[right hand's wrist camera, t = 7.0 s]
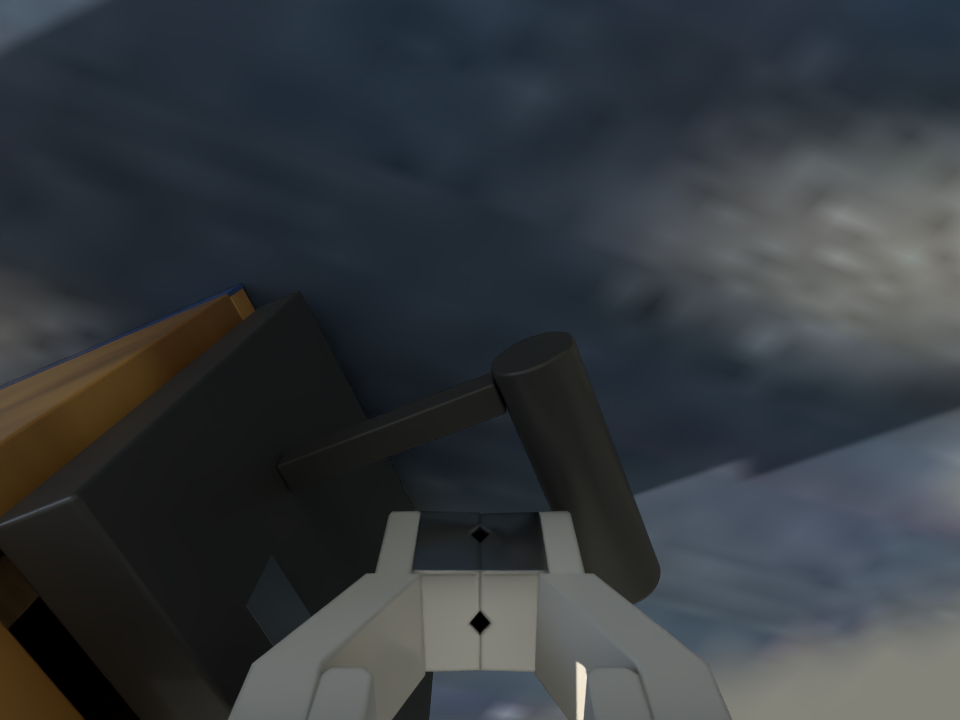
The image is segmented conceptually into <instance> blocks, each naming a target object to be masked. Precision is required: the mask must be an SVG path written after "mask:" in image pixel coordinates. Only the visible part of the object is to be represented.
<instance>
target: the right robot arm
mask: <svg viewBox="0 0 960 720" xmlns="http://www.w3.org/2000/svg"><path fill="white" fill-rule="evenodd" d="M463 670H496V671H531V672H535V675H536V676H537V678H538V679H539V680H540V682H541V683H542V685H543V686H544V687H545V689H546V690H547V691H548V693H549V694H550V695H551V697H552V698H553V699H554V701H555V702H556V703H557V705H558V706H559V708H560V709H561V710H562V712H563V713H564V714H565V716H566V717H567V718H568V720H732V718H731V716H730V714H729V711H728V709H727V706H726V704H725V702H724V699H723V697H722V695H721V692H720V690H719V688H718V685H717V683H716V681H715V678H714V676H713V674H712V671H711V669H710V667H709V665H708V664H707V663H706V662H705V661H703V660H702V659H701V658H700V657H698V656H697V655H696V654H695V653H693V652H692V651H691V650H690V649H688V648H687V647H686V646H685V645H683V644H682V643H681V642H679V641H678V640H677V639H676V638H674V637H673V636H672V635H671V634H669V633H668V632H667V631H666V630H664V629H663V628H662V627H661V626H659V625H658V624H657V623H656V622H654V621H653V620H652V619H651V618H649V617H648V616H647V615H645V614H644V613H643V612H642V611H640V610H639V609H638V608H637V607H635V606H634V605H633V604H632V603H630V602H629V601H628V600H627V599H625V598H624V597H623V596H622V595H620V594H619V593H618V592H617V591H615V590H614V589H613V588H611V587H610V586H609V585H608V584H606V583H605V582H604V581H603V580H601V579H600V578H599V577H598V576H596V575H595V574H593V573H585V571H584V567H583V563H582V559H581V554H580V550H579V546H578V542H577V538H576V534H575V530H574V526H573V521H572V517H571V514H570V513H569V512H568V511H547V512H526V513H478V512H430V511H422V513H421V512H420V511H392V512H391V513H390V515H389V517H388V521H387V525H386V529H385V533H384V538H383V542H382V546H381V550H380V554H379V558H378V563H377V567H376V571H375V573H367V574H365V575H364V576H362V577H361V578H360V579H359V580H357V581H356V582H355V583H354V584H352V585H351V586H350V587H348V588H347V589H346V590H345V591H343V592H342V593H341V594H340V595H338V596H337V597H336V598H335V599H333V600H332V601H331V602H329V603H328V604H327V605H326V606H324V607H323V608H322V609H321V610H319V611H318V612H317V613H316V614H314V615H313V616H312V617H311V618H309V619H308V620H307V621H305V622H304V623H303V624H302V625H300V626H299V627H298V628H297V629H295V630H294V631H293V632H292V633H290V634H289V635H288V636H286V637H285V638H284V639H283V640H281V641H280V642H279V643H278V644H276V645H275V646H274V647H273V648H271V649H270V650H269V651H267V652H266V653H265V654H264V655H262V656H261V657H260V658H259V659H257V660H256V661H255V662H254V663H252V665H251V667H250V670H249V672H248V674H247V677H246V679H245V681H244V684H243V686H242V688H241V690H240V693H239V695H238V697H237V700H236V702H235V704H234V707H233V709H232V711H231V714H230V716H229V718H228V720H392V719H393V717H394V716H395V715H396V713H397V712H398V711H399V709H400V708H401V707H402V705H403V704H404V703H405V701H406V700H407V699H408V697H409V696H410V695H411V693H412V692H413V691H414V689H415V688H416V687H417V685H418V684H419V682H420V681H421V680H422V678H423V677H424V676H425V672H429V671H463Z"/></svg>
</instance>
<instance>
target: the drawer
mask: <svg viewBox="0 0 960 720" xmlns="http://www.w3.org/2000/svg"><path fill="white" fill-rule="evenodd" d="M506 407H507V409H508V412H509V414H510V416H511V419H512V421H513V423H514V426H515V428H516V430H517V432H518V435H519V437H520V439H521V442H522V444H523V446H524V449H525V451H526V453H527V456H528V458H529V460H530V462H531V465H532V467H533V469H534V472H535V474H536V476H537V479H538V481H539V483H540V486H541V488H542V490H543V492H544V495H545V497H546V499H547V502H548V504H549V506H550V509H551V511H568V512H569V513H570V514H571V517H572V521H573V526H574V530H575V534H576V538H577V542H578V546H579V550H580V554H581V559H582V563H583V567H584V571H585V573H593V574H595V575H596V576H598V577H599V578H600V579H601V580H603V581H604V582H605V583H606V584H608V585H609V586H610V587H611V588H613V589H614V590H615V591H617V592H618V593H619V594H620V595H622V596H623V597H624V598H625V599H627V600H628V601H629V602H630V603H632V604H635V603H637V602H639V601H641V600H643V599H645V598H646V597H647V596H648V595H650V594H651V593H652V592H653V590H654V589H655V588H656V586H657V584H658V582H659V578H660V566H659V563H658V560H657V558H656V555H655V552H654V550H653V547H652V544H651V542H650V539H649V536H648V534H647V531H646V528H645V526H644V523H643V521H642V518H641V515H640V513H639V510H638V507H637V505H636V502H635V499H634V497H633V494H632V491H631V489H630V486H629V483H628V481H627V478H626V475H625V473H624V470H623V467H622V465H621V462H620V459H619V457H618V454H617V451H616V449H615V446H614V443H613V441H612V438H611V435H610V433H609V430H608V428H607V425H606V422H605V420H604V417H603V414H602V412H601V409H600V406H599V404H598V401H597V398H596V396H595V393H594V390H593V388H592V385H591V382H590V380H589V377H588V374H587V372H586V369H585V366H584V364H583V361H582V358H581V356H580V353H579V350H578V348H577V345H576V342H575V340H574V338H573V337H572V336H571V335H570V334H569V333H566V332H550V333H544V334H540V335H536V336H533V337H530V338H527V339H525V340H523V341H520V342H518V343H516V344H514V345H513V346H511V347H509V348H508V349H506V350H505V351H503V352H502V353H501V354H500V355H498V356H497V357H496V358H495V360H494V361H493V362H492V365H491V373H489V374H486V375H484V376H481V377H478V378H476V379H473V380H470V381H468V382H465V383H463V384H460V385H457V386H455V387H452V388H449V389H447V390H444V391H442V392H439V393H436V394H434V395H431V396H429V397H426V398H423V399H421V400H418V401H415V402H413V403H410V404H408V405H405V406H402V407H400V408H397V409H394V410H392V411H389V412H387V413H384V414H381V415H379V416H376V417H374V418H371V419H367V417H366V416H365V414H364V412H363V410H362V408H361V406H360V404H359V402H358V400H357V398H356V396H355V395H354V393H353V391H352V389H351V387H350V385H349V383H348V381H347V379H346V377H345V375H344V373H343V372H342V370H341V368H340V366H339V364H338V362H337V360H336V358H335V356H334V354H333V352H332V351H331V349H330V347H329V345H328V343H327V341H326V339H325V337H324V335H323V333H322V331H321V330H320V328H319V326H318V324H317V322H316V320H315V318H314V316H313V314H312V312H311V310H310V309H309V307H308V305H307V303H306V301H305V299H304V297H303V295H302V293H301V292H300V291H297V292H294V293H292V294H289V295H287V296H285V297H282V298H280V299H277V300H275V301H273V302H270V303H268V304H265V305H263V306H261V307H259V308H258V309H256V310H255V311H254V312H253V313H252V314H250V315H249V316H248V317H247V318H245V319H244V320H243V321H242V322H240V323H239V324H238V325H237V326H236V327H234V328H233V329H232V330H231V331H229V332H228V333H227V334H226V335H224V336H223V337H222V338H221V339H219V340H218V341H217V342H216V343H215V344H213V345H212V346H211V347H210V348H208V349H207V350H206V351H205V352H203V353H202V354H201V355H200V356H199V357H197V358H196V359H195V360H194V361H192V362H191V363H190V364H189V365H187V366H186V367H185V368H184V369H183V370H181V371H180V372H179V373H178V374H176V375H175V376H174V377H173V378H171V379H170V380H169V381H168V382H167V383H165V384H164V385H163V386H162V387H160V388H159V389H158V390H157V391H155V392H154V393H153V394H152V395H151V396H149V397H148V398H147V399H146V400H144V401H143V402H142V403H141V404H139V405H138V406H137V407H136V408H135V409H133V410H132V411H131V412H130V413H128V414H127V415H126V416H125V417H123V418H122V419H121V420H120V421H119V422H117V423H116V424H115V425H114V426H112V427H111V428H110V429H109V430H107V431H106V432H105V433H104V434H103V435H101V436H100V437H99V438H98V439H96V440H95V441H94V442H93V443H91V444H90V445H89V446H88V447H87V448H85V449H84V450H83V451H82V452H80V453H79V454H78V455H77V456H75V457H74V458H73V459H72V460H70V461H69V462H68V463H67V464H66V465H64V466H63V467H62V468H61V469H59V470H58V471H57V472H56V473H54V474H53V475H52V476H51V477H50V478H48V479H47V480H46V481H45V482H43V483H42V484H41V485H40V486H38V487H37V488H36V489H35V490H34V491H32V492H31V493H30V494H29V495H27V496H26V497H25V498H24V499H22V500H21V501H20V502H19V503H18V504H16V505H15V506H14V507H13V508H11V509H10V510H9V511H8V512H6V513H5V514H4V515H3V516H2V517H0V621H1V622H2V623H3V624H4V626H5V627H6V628H7V629H8V630H9V631H10V632H11V634H12V635H13V636H14V637H15V638H16V639H17V641H18V642H19V643H20V644H21V645H22V646H23V648H24V649H25V650H26V651H27V652H28V653H29V655H30V656H31V657H32V658H33V659H34V660H35V662H36V663H37V664H38V665H39V666H40V667H41V669H42V670H43V671H44V672H45V673H46V674H47V676H48V677H49V678H50V679H51V680H52V681H53V683H54V684H55V685H56V686H57V687H58V688H59V690H60V691H61V692H62V693H63V694H64V695H65V696H66V698H67V699H68V700H69V701H70V702H71V703H72V705H73V706H74V707H75V708H76V709H77V710H78V712H79V713H80V714H81V715H82V716H83V717H84V719H85V720H228V718H229V716H230V714H231V711H232V709H233V707H234V704H235V702H236V700H237V697H238V695H239V693H240V690H241V688H242V686H243V684H244V681H245V679H246V677H247V674H248V672H249V670H250V667H251V665H252V663H254V662H255V661H256V660H257V659H259V658H260V657H261V656H262V655H264V654H265V653H266V652H267V651H269V650H270V649H271V648H273V647H274V646H275V645H276V644H278V643H279V642H280V641H281V640H283V639H284V638H285V637H286V636H288V635H289V634H290V633H292V632H293V631H294V630H295V629H297V628H298V627H299V626H300V625H302V624H303V623H304V622H305V621H307V620H308V619H309V618H311V617H312V616H313V615H314V614H316V613H317V612H318V611H319V610H321V609H322V608H323V607H324V606H326V605H327V604H328V603H329V602H331V601H332V600H333V599H335V598H336V597H337V596H338V595H340V594H341V593H342V592H343V591H345V590H346V589H347V588H348V587H350V586H351V585H352V584H354V583H355V582H356V581H357V580H359V579H360V578H361V577H362V576H364V575H365V574H367V573H375V571H376V567H377V563H378V558H379V554H380V550H381V546H382V542H383V538H384V533H385V529H386V525H387V521H388V517H389V515H390V513H391V512H392V511H415V509H414V507H413V505H412V503H411V501H410V500H409V498H408V496H407V494H406V492H405V490H404V488H403V486H402V484H401V482H400V480H399V479H398V477H397V475H396V473H395V471H394V469H393V467H392V465H391V463H390V461H389V459H388V458H387V457H389V456H392V455H394V454H397V453H400V452H403V451H405V450H408V449H411V448H413V447H416V446H419V445H421V444H424V443H427V442H429V441H432V440H435V439H438V438H440V437H443V436H446V435H448V434H451V433H454V432H456V431H459V430H462V429H464V428H467V427H470V426H473V425H475V424H478V423H481V422H483V421H486V420H489V419H491V418H494V417H497V416H499V415H502V414H504V413H506ZM432 679H433V671H429V672H425V676H424V677H423V678H422V680H421V681H420V682H419V684H418V685H417V687H416V688H415V689H414V691H413V692H412V693H411V695H410V696H409V697H408V699H407V700H406V701H405V703H404V704H403V705H402V707H401V708H400V709H399V711H398V712H397V713H396V715H395V716H394V717H393V719H392V720H429V715H430V703H431V691H432Z"/></svg>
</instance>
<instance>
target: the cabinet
mask: <svg viewBox="0 0 960 720" xmlns="http://www.w3.org/2000/svg"><path fill="white" fill-rule="evenodd" d="M243 288H244V287H243V285H242V284H239V285H237V286H234V287H232V288H230V289H227V290H225V291H223V292H220V293H218V294H216V295H213V296H211V297H209V298H206V299H204V300H201V301H199V302H197V303H194V304H192V305H190V306H187V307H185V308H183V309H180V310H178V311H176V312H173V313H171V314H169V315H166V316H164V317H162V318H159V319H157V320H154V321H152V322H150V323H147V324H145V325H143V326H140V327H138V328H136V329H133V330H131V331H129V332H126V333H124V334H122V335H119V336H117V337H115V338H112V339H110V340H107V341H105V342H103V343H100V344H98V345H96V346H93V347H91V348H89V349H86V350H84V351H82V352H79V353H77V354H75V355H72V356H70V357H68V358H65V359H63V360H60V361H58V362H56V363H53V364H51V365H49V366H46V367H44V368H42V369H39V370H37V371H35V372H32V373H30V374H28V375H25V376H23V377H21V378H18V379H16V380H13V381H11V382H9V383H6V384H4V385H2V386H0V517H2V516H3V515H4V514H5V513H6V512H8V511H9V510H10V509H11V508H13V507H14V506H15V505H16V504H18V503H19V502H20V501H21V500H22V499H24V498H25V497H26V496H27V495H29V494H30V493H31V492H32V491H34V490H35V489H36V488H37V487H38V486H40V485H41V484H42V483H43V482H45V481H46V480H47V479H48V478H50V477H51V476H52V475H53V474H54V473H56V472H57V471H58V470H59V469H61V468H62V467H63V466H64V465H66V464H67V463H68V462H69V461H70V460H72V459H73V458H74V457H75V456H77V455H78V454H79V453H80V452H82V451H83V450H84V449H85V448H87V447H88V446H89V445H90V444H91V443H93V442H94V441H95V440H96V439H98V438H99V437H100V436H101V435H103V434H104V433H105V432H106V431H107V430H109V429H110V428H111V427H112V426H114V425H115V424H116V423H117V422H119V421H120V420H121V419H122V418H123V417H125V416H126V415H127V414H128V413H130V412H131V411H132V410H133V409H135V408H136V407H137V406H138V405H139V404H141V403H142V402H143V401H144V400H146V399H147V398H148V397H149V396H151V395H152V394H153V393H154V392H155V391H157V390H158V389H159V388H160V387H162V386H163V385H164V384H165V383H167V382H168V381H169V380H170V379H171V378H173V377H174V376H175V375H176V374H178V373H179V372H180V371H181V370H183V369H184V368H185V367H186V366H187V365H189V364H190V363H191V362H192V361H194V360H195V359H196V358H197V357H199V356H200V355H201V354H202V353H203V352H205V351H206V350H207V349H208V348H210V347H211V346H212V345H213V344H215V343H216V342H217V341H218V340H219V339H221V338H222V337H223V336H224V335H226V334H227V333H228V332H229V331H231V330H232V329H233V328H234V327H236V326H237V325H238V324H239V323H240V322H242V321H243V320H244V319H245V318H247V317H248V316H249V315H250V314H252V313H253V312H254V311H255V309H254V308H253V306H252V304H251V302H250V300H249V299H248V297H247V295H246V293H245V291H244V290H243ZM0 720H85V719H84V717H83V716H82V715H81V714H80V713H79V712H78V710H77V709H76V708H75V707H74V706H73V705H72V703H71V702H70V701H69V700H68V699H67V698H66V696H65V695H64V694H63V693H62V692H61V691H60V690H59V688H58V687H57V686H56V685H55V684H54V683H53V681H52V680H51V679H50V678H49V677H48V676H47V674H46V673H45V672H44V671H43V670H42V669H41V667H40V666H39V665H38V664H37V663H36V662H35V660H34V659H33V658H32V657H31V656H30V655H29V653H28V652H27V651H26V650H25V649H24V648H23V646H22V645H21V644H20V643H19V642H18V641H17V639H16V638H15V637H14V636H13V635H12V634H11V632H10V631H9V630H8V629H7V628H6V627H5V626H4V624H3V623H2V622H1V621H0Z"/></svg>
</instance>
